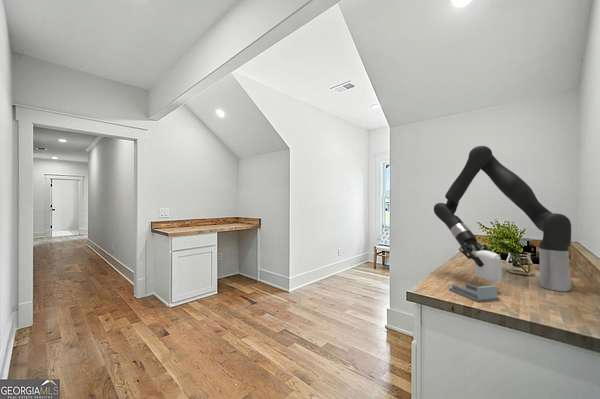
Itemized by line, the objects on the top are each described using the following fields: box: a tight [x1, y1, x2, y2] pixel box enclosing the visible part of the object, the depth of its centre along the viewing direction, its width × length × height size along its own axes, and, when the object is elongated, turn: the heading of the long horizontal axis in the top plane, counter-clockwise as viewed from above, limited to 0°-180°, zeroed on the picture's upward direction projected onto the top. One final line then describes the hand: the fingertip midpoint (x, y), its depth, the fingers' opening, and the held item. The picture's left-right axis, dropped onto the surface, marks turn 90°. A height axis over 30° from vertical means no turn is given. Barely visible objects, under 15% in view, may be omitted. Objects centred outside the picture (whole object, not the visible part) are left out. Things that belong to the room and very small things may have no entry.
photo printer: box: [474, 250, 503, 284], centre depth 110 cm, size 10×4×12 cm, turn 12°
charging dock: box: [449, 283, 500, 303], centre depth 104 cm, size 10×14×6 cm
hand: (486, 265), depth 110 cm, fingers closed on photo printer, 4 cm apart
